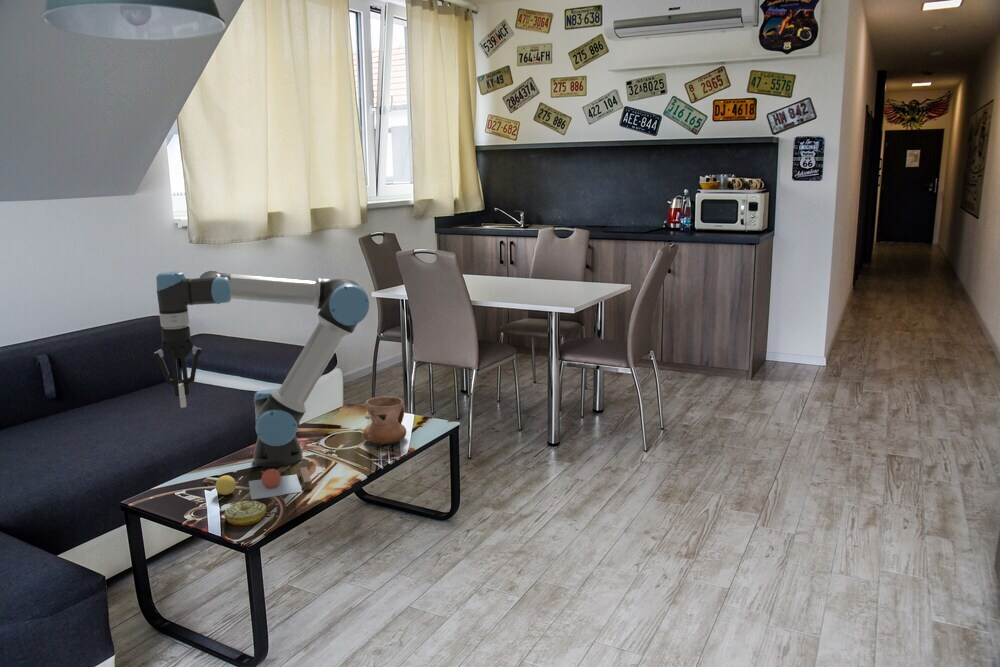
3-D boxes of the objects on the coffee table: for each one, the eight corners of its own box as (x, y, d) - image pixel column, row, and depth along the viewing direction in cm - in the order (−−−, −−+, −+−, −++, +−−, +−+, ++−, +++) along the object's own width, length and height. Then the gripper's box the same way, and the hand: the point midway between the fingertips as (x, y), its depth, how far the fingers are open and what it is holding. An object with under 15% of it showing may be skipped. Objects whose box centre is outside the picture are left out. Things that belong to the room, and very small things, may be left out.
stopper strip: (307, 474, 240) (306, 466, 240) (312, 489, 229) (311, 481, 229) (300, 475, 240) (299, 467, 239) (305, 490, 229) (304, 482, 228)
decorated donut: (262, 507, 218) (261, 494, 217) (270, 522, 209) (269, 509, 208) (223, 515, 213) (221, 502, 213) (229, 531, 204) (228, 517, 203)
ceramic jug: (382, 452, 258) (381, 410, 256) (352, 443, 267) (350, 402, 264) (419, 437, 273) (419, 398, 270) (389, 429, 281) (388, 391, 278)
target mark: (296, 474, 240) (296, 474, 240) (301, 492, 227) (301, 491, 227) (248, 481, 236) (248, 481, 236) (251, 499, 223) (251, 499, 223)
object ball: (256, 474, 232) (268, 487, 234) (258, 480, 227) (269, 494, 229) (272, 462, 233) (283, 476, 235) (274, 469, 228) (285, 482, 230)
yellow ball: (211, 479, 227) (221, 494, 229) (211, 486, 222) (222, 501, 224) (229, 469, 229) (239, 483, 230) (229, 475, 223) (239, 491, 225)
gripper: (149, 331, 218) (158, 412, 223) (199, 327, 223) (207, 407, 228) (151, 326, 225) (159, 405, 230) (199, 322, 230) (207, 400, 234)
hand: (183, 406), depth 229 cm, fingers closed
